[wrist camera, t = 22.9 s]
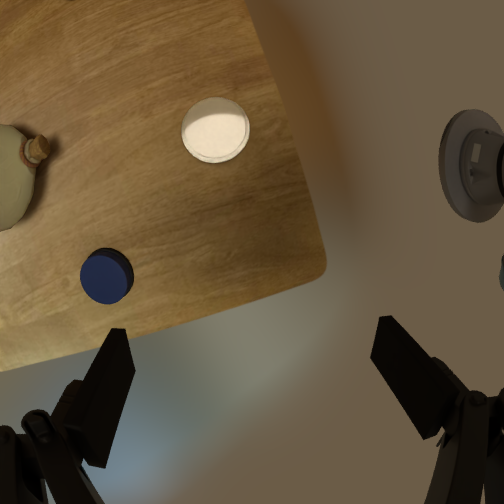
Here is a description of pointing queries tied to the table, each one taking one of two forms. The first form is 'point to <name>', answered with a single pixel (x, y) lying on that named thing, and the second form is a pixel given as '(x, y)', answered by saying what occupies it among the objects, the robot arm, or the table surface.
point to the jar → (215, 130)
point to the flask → (18, 172)
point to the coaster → (123, 260)
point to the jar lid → (105, 277)
